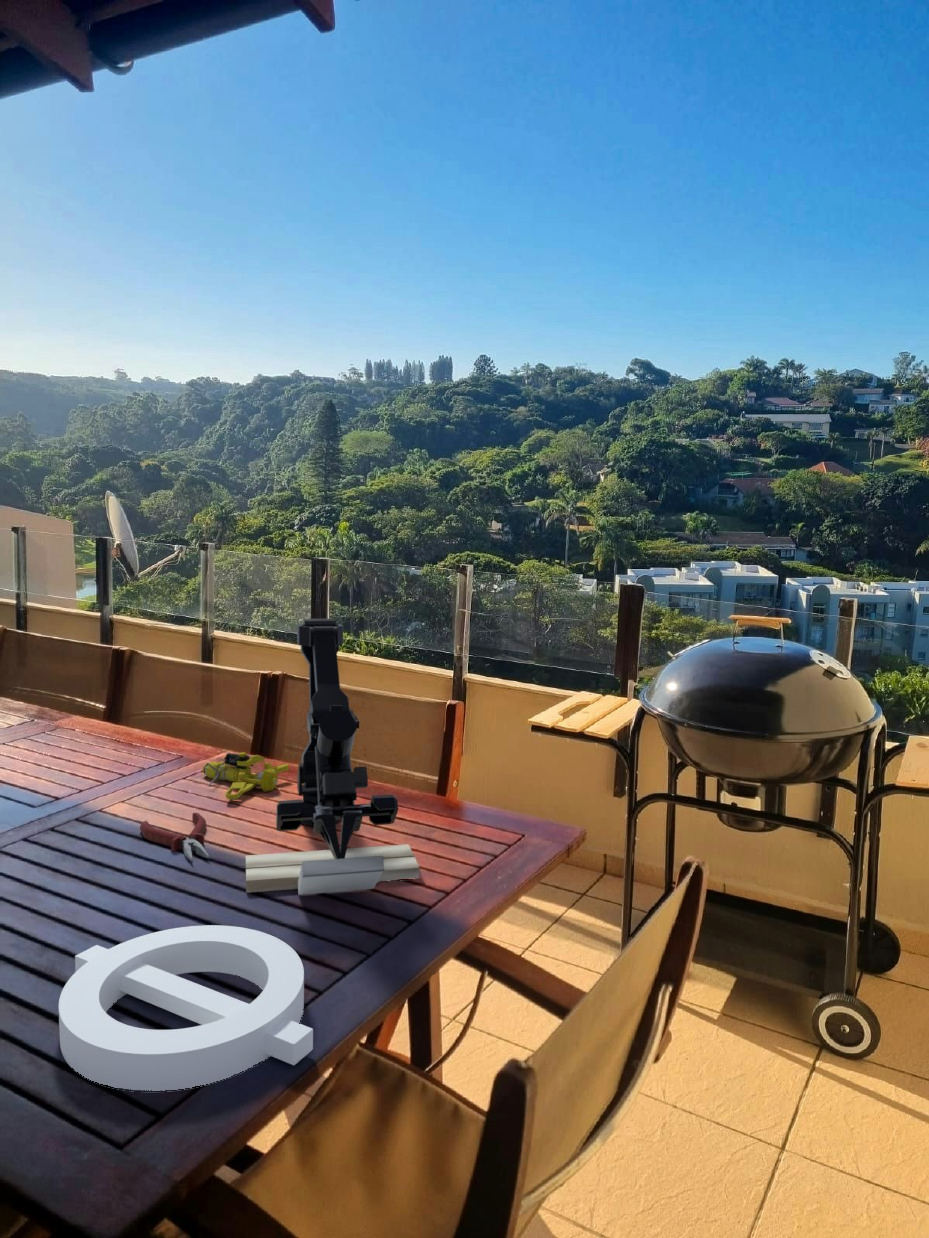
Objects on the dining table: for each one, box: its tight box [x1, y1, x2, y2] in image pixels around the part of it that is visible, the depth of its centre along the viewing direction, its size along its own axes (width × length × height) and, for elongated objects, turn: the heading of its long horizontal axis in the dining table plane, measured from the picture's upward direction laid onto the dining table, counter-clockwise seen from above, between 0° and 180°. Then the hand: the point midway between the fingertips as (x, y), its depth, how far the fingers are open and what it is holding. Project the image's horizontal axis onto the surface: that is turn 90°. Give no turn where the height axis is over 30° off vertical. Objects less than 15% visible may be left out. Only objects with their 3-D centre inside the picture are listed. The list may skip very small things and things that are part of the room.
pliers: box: [139, 812, 211, 863], centre depth 158 cm, size 12×20×3 cm, turn 33°
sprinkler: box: [202, 751, 290, 801], centre depth 189 cm, size 19×8×20 cm
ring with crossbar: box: [58, 924, 314, 1091], centre depth 107 cm, size 28×28×5 cm
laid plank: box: [245, 843, 421, 894], centre depth 148 cm, size 10×28×2 cm, turn 104°
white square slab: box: [297, 856, 384, 895], centre depth 136 cm, size 2×12×12 cm
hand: (340, 864), depth 134 cm, fingers closed
